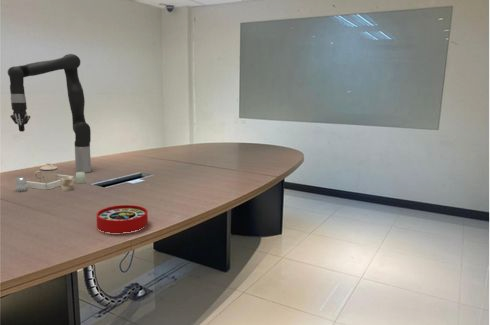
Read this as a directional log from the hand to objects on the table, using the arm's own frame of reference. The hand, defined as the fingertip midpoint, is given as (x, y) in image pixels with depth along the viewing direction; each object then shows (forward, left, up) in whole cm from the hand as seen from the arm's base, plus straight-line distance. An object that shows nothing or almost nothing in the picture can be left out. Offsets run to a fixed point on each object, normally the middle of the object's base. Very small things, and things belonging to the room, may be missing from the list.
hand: (22, 131), depth 214 cm
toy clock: (-52, +96, -29) cm, 113 cm away
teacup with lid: (-14, +17, -28) cm, 36 cm away
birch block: (-26, +34, -28) cm, 51 cm away
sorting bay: (-14, +19, -28) cm, 37 cm away
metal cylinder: (-4, +32, -28) cm, 43 cm away
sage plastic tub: (-32, +20, -28) cm, 47 cm away
